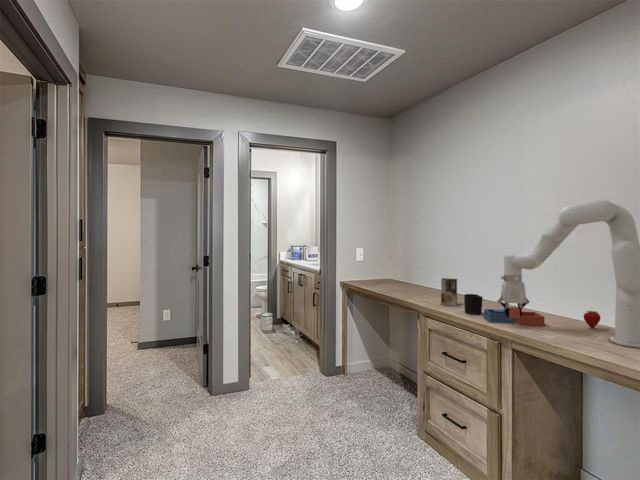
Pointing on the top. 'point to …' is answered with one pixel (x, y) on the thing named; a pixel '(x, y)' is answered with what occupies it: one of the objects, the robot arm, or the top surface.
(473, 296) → the pen holder
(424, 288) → the top surface
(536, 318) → the terracotta bin
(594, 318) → the strawberry
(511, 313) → the terracotta block
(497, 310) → the blue block
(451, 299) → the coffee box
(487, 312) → the blue bin
